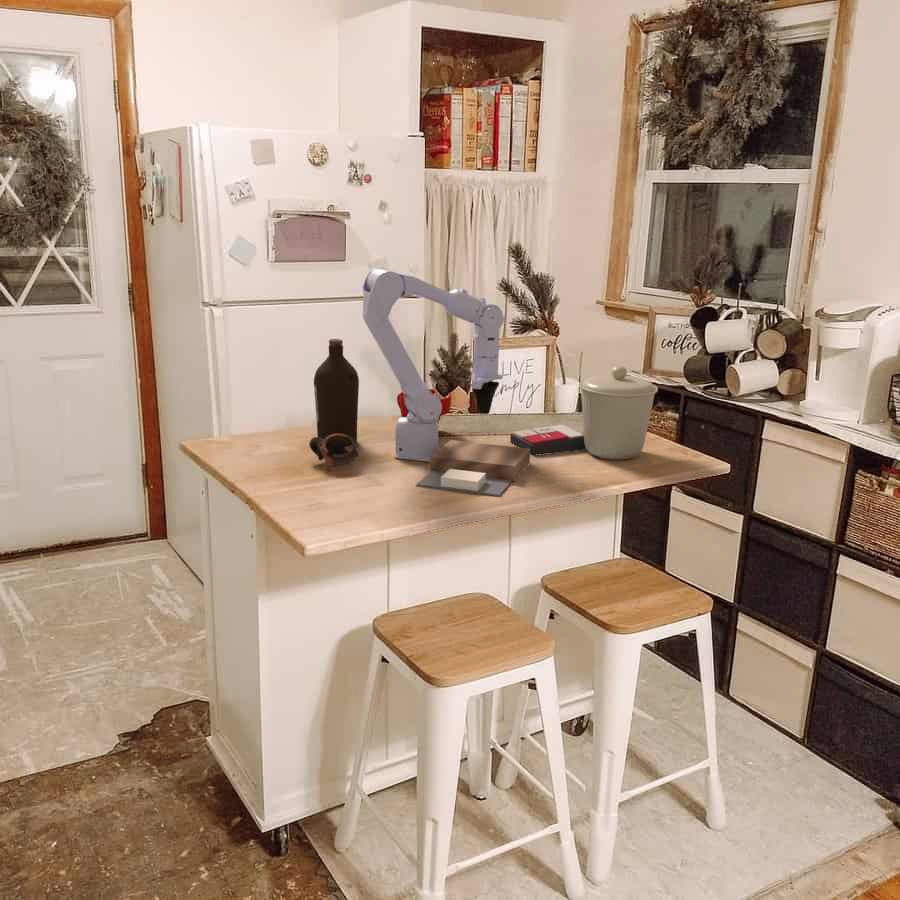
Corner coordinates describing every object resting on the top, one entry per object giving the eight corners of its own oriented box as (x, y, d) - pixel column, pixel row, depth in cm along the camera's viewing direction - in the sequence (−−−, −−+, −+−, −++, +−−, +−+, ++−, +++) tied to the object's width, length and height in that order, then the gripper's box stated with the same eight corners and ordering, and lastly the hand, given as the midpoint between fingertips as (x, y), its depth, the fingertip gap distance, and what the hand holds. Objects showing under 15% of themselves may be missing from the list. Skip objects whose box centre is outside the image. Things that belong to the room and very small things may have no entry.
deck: (430, 471, 196) (430, 456, 195) (450, 454, 209) (450, 439, 208) (514, 482, 191) (515, 466, 190) (529, 463, 203) (530, 448, 202)
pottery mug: (364, 462, 204) (366, 437, 198) (346, 490, 197) (348, 465, 191) (317, 444, 206) (317, 419, 200) (297, 472, 199) (297, 447, 193)
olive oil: (363, 437, 221) (363, 337, 214) (353, 450, 211) (352, 344, 204) (321, 435, 222) (319, 335, 215) (309, 447, 212) (307, 342, 205)
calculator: (509, 430, 218) (562, 422, 224) (509, 447, 219) (562, 438, 225) (531, 442, 208) (586, 433, 214) (531, 459, 210) (586, 450, 215)
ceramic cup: (417, 420, 238) (417, 383, 235) (461, 434, 226) (461, 395, 223) (378, 428, 229) (378, 390, 226) (422, 443, 217) (423, 403, 215)
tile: (449, 468, 191) (449, 477, 191) (440, 477, 185) (440, 486, 186) (486, 473, 188) (485, 482, 189) (477, 481, 183) (477, 490, 183)
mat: (416, 485, 187) (416, 484, 187) (431, 472, 196) (431, 470, 196) (499, 496, 182) (499, 494, 181) (511, 482, 191) (511, 480, 190)
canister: (558, 451, 214) (563, 363, 207) (610, 439, 224) (616, 356, 218) (616, 470, 200) (623, 377, 194) (667, 456, 211) (676, 368, 205)
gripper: (494, 362, 197) (492, 422, 201) (511, 351, 210) (508, 407, 214) (463, 360, 199) (462, 419, 203) (482, 349, 213) (480, 404, 216)
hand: (484, 413), depth 209 cm, fingers closed
